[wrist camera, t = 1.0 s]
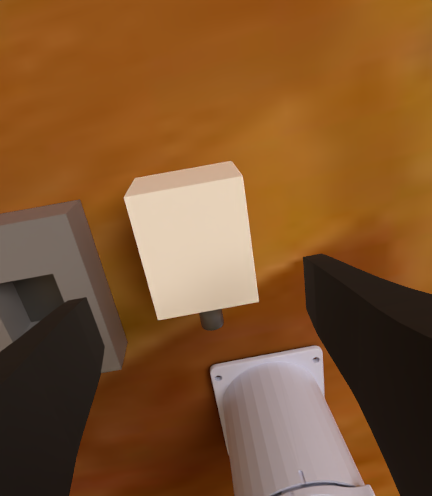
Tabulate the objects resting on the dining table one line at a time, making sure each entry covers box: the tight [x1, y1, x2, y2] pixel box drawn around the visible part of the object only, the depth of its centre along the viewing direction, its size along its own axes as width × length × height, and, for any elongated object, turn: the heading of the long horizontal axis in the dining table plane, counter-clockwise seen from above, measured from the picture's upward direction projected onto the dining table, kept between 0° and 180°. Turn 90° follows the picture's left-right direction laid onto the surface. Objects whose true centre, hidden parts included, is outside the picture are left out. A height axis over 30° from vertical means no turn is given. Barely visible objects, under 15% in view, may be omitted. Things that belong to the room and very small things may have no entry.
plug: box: [124, 161, 259, 330], centre depth 18 cm, size 8×5×6 cm, turn 9°
